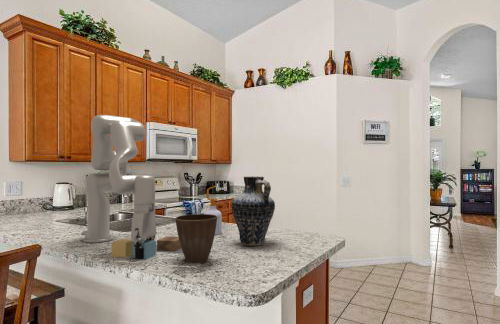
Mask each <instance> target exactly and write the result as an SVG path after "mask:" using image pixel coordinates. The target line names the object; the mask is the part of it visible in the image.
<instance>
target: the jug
mask: <svg viewBox="0 0 500 324" xmlns="http://www.w3.org/2000/svg"><path fill="white" fill-rule="evenodd" d="M243 182H244V189H243V191H242V192H241V193H240V194H238V195H237V196H235V197H234V198H233V199H232V200H231V202H230V203H231V204H230V209H231V213H232V216H233V219H234V221H235V225H236V226H237V230H238V232H239V233H238V234H239V241H240V243H241V244H242V245H245V246H262V245H264V244H265V240H266V235H267V232H268V230H269V227H270V224H271V221H272V219H273V216H274V213H275V210H276V208H275V207H276V203H275V201H274V199H273V198H272V197H270V194H271V192H272V191H271V190H272V186H271V183H270V181H267V180H266V179H265V176H253V175H251V176H243ZM263 185H264V187H263Z"/></svg>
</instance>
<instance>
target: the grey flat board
mask: <svg viewBox="0 0 500 324" xmlns="http://www.w3.org/2000/svg"><path fill="white" fill-rule="evenodd" d="M156 253H171V254H183V251H182V248H181V249H179V250H177V251H161V250H157V244H156Z"/></svg>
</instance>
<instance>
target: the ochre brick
mask: <svg viewBox="0 0 500 324" xmlns="http://www.w3.org/2000/svg"><path fill="white" fill-rule="evenodd" d="M110 255H111V257H113V258H114V257H115V258H127V257H130V256H133V243H132V242H131V238H120V239H119V238H118V239H117V240H115V241H114V240H113V241H111V254H110Z"/></svg>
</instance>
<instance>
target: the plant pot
mask: <svg viewBox="0 0 500 324" xmlns="http://www.w3.org/2000/svg"><path fill="white" fill-rule="evenodd" d="M174 219H175V220H174V221H175V225H176V232H177V237H179V241H180V244H181V248H182V251H183V253H182V254H183V256H184V259H185V261H186V262H187V263H191V264H199V265H201V264H205V263H207V262H208V260H209V257H210V254H211V252H212V251H211V250H212V247H213V243H214V240H215V237H216V235H215V230H216V223H217V216H216V215H210V214H205V213H197V214H196V213H195V214H184V215H179V216H176V217H175V218H174Z"/></svg>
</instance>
